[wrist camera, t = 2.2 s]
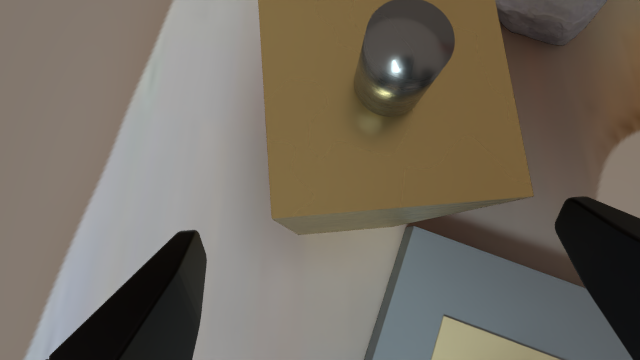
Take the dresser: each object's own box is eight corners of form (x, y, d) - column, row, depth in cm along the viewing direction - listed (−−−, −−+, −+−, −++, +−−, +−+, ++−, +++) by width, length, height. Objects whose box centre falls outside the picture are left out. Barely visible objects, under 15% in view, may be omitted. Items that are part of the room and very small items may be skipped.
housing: (392, 226, 18) (602, 181, 5) (298, 234, 18) (258, 210, 5) (381, 136, 19) (534, -105, 6) (291, 143, 19) (241, -90, 6)
